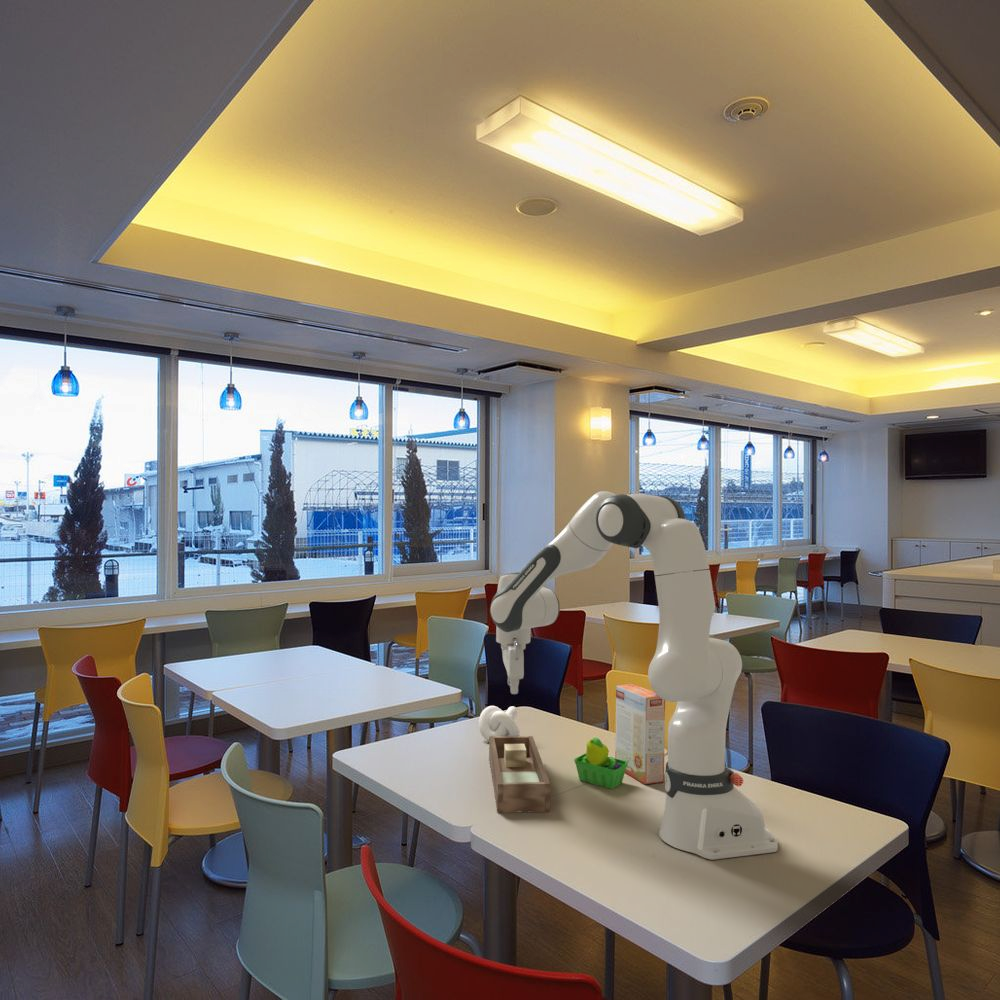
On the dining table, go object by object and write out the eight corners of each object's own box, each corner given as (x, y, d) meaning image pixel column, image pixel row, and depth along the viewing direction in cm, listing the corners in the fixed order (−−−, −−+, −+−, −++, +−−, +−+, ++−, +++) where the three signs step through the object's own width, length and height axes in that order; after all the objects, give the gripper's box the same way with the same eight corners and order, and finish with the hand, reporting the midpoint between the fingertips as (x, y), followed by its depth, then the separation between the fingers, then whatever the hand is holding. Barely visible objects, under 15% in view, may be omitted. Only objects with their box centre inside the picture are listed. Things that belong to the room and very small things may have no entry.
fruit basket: (629, 782, 176) (629, 735, 176) (611, 793, 169) (612, 744, 169) (588, 772, 183) (588, 726, 183) (569, 782, 175) (570, 735, 176)
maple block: (524, 759, 182) (524, 743, 182) (526, 766, 177) (526, 750, 177) (504, 760, 182) (504, 743, 182) (505, 767, 177) (505, 750, 177)
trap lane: (532, 759, 192) (532, 736, 192) (550, 811, 158) (550, 783, 158) (489, 759, 191) (489, 736, 191) (497, 812, 157) (497, 784, 157)
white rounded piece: (490, 730, 217) (491, 700, 217) (528, 736, 212) (529, 704, 212) (474, 741, 206) (475, 709, 206) (514, 747, 202) (514, 714, 202)
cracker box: (665, 782, 176) (666, 695, 176) (644, 785, 174) (645, 697, 174) (634, 764, 189) (635, 682, 189) (614, 766, 187) (614, 684, 187)
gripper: (530, 642, 178) (529, 699, 177) (521, 629, 198) (521, 680, 198) (504, 642, 177) (503, 699, 177) (498, 629, 198) (497, 680, 197)
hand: (512, 689), depth 188 cm, fingers open, 7 cm apart
